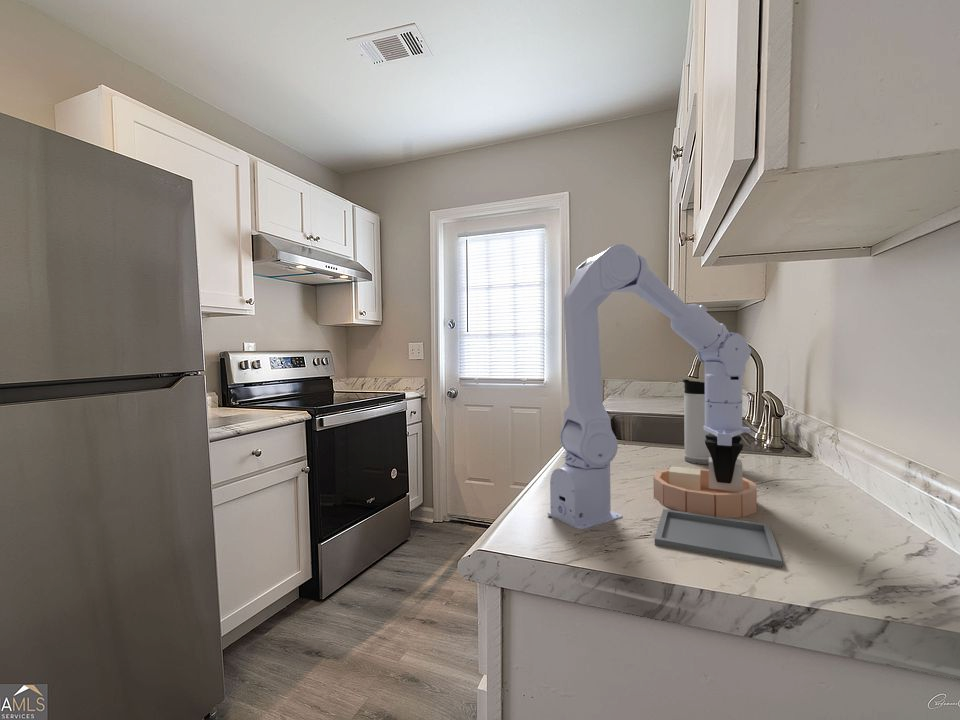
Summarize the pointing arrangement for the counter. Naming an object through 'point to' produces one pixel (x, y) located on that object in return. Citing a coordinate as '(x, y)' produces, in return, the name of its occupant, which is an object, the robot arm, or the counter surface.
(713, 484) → the pale grey cube
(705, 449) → the travel mug
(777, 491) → the counter surface
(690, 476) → the cream block
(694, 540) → the tray
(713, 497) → the bowl
